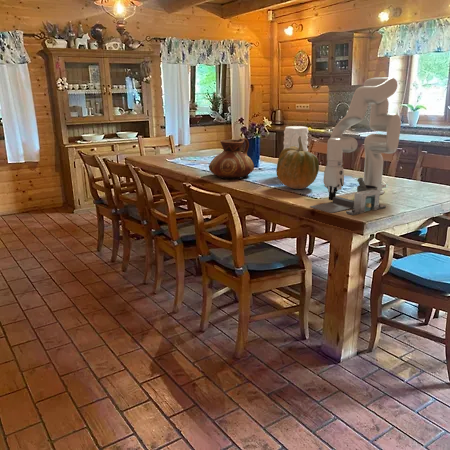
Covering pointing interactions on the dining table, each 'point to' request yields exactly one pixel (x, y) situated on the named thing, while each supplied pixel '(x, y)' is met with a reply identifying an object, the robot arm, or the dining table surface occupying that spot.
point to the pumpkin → (297, 167)
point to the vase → (295, 136)
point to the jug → (232, 160)
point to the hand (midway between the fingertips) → (332, 199)
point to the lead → (343, 202)
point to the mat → (331, 207)
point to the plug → (367, 204)
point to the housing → (361, 198)
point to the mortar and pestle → (364, 186)
